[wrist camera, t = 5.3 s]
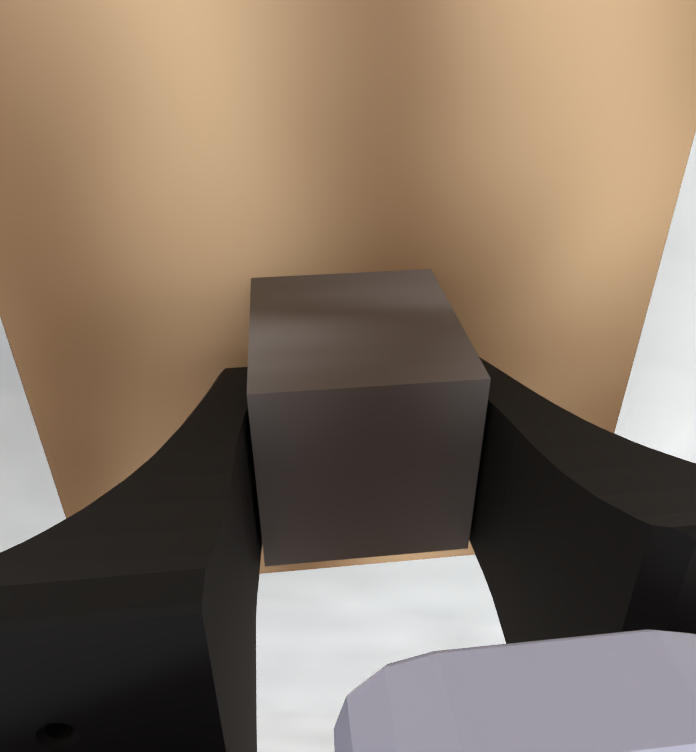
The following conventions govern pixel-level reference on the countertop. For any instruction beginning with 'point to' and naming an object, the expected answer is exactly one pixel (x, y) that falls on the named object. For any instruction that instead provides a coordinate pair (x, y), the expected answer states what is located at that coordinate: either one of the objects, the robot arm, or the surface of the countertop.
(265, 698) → the countertop surface
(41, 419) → the cover
